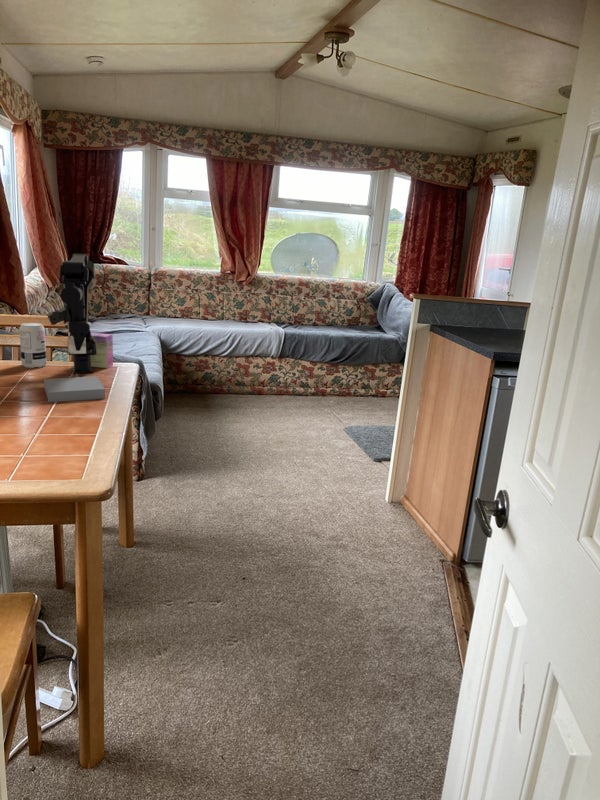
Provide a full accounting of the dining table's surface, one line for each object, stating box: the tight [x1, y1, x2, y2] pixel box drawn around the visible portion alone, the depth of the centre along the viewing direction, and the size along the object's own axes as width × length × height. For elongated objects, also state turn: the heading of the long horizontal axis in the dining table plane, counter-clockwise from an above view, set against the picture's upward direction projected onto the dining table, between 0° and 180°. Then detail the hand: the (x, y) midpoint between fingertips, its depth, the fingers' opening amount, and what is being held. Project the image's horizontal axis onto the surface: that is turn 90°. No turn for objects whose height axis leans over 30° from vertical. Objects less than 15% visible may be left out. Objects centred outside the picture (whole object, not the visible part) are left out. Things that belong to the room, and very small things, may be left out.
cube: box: [67, 335, 86, 354], centre depth 199 cm, size 5×5×5 cm
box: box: [90, 332, 114, 369], centre depth 222 cm, size 10×6×12 cm, turn 84°
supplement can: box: [18, 322, 48, 369], centre depth 216 cm, size 8×8×15 cm
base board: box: [43, 375, 106, 403], centre depth 188 cm, size 16×16×3 cm
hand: (77, 349), depth 199 cm, fingers closed on cube, 5 cm apart
